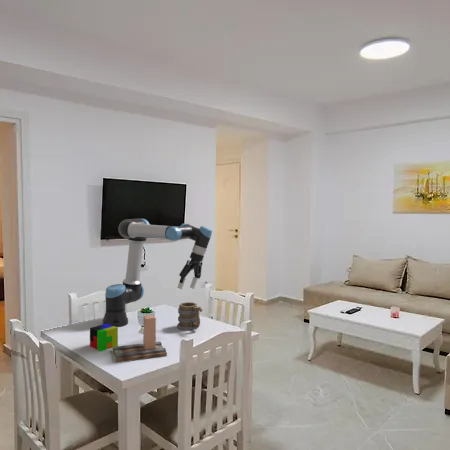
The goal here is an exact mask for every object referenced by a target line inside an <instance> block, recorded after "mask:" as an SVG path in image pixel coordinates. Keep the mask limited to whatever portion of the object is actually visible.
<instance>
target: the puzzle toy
mask: <svg viewBox="0 0 450 450" xmlns="http://www.w3.org/2000/svg"><path fill="white" fill-rule="evenodd" d="M118 328H119V327H115V326H112V325H109V324H103V323H102V324H99V325H96V326H93V327H89V347H90V348H92V349H95V350H97V351H99V352H103V351H107V350H110V349H113V347H116V346H119V343H118V342H119V339H118V338H119V337H118V335H119V334H118V333H119V329H118Z"/></svg>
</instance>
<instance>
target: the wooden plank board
mask: <svg viewBox="0 0 450 450" xmlns="http://www.w3.org/2000/svg"><path fill="white" fill-rule="evenodd" d="M162 344H163V343H162V341H156V349H150V350H145V349H144V347H143V342H142V343H135V344H128V345H127V344H125V345H118V346H116V347H113V348H112V352H113V355H114V359H115V361H116V363H123V362H122V361H124V362H131V361H138V360H139V361H140V360H146V359H151V358H152V359H153V358H154V357H155V358H160V357H161V356H162V357H168V355H167V354H168V353H167V348H166V347H163V345H162ZM130 360H131V361H130Z"/></svg>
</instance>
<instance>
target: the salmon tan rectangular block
mask: <svg viewBox="0 0 450 450" xmlns="http://www.w3.org/2000/svg"><path fill="white" fill-rule="evenodd" d="M156 319H157V318H156V316H155V315H154V314H149V315H143V342H142V343H143V347H144V349H145V350H150V349H156V342H157V341H156V336H157V335H156V334H157V333H156V331H157V330H156V328H157V327H156V325H157V324H156V323H157V320H156Z"/></svg>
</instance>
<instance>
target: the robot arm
mask: <svg viewBox="0 0 450 450" xmlns="http://www.w3.org/2000/svg"><path fill="white" fill-rule="evenodd" d="M117 230H118V233H119V235H120V236H121V237H123V238H124V239H127V241H128V242H129V245H128V253H127V262H126V263H127V264H126V273H125V278H124V279H123V280H122V283H116V284H111V285H108V286H107V287H106V289H105V295H104V296H105V312H104V313H105V314H104V316H103V320H102V325H103V324H109V325H112V326H115V327H118V328H119V327H123V326H126V325H128V324H129V318H128V315H127V311H126V305H127V304H131V303H135V302H138V301H139V300H141V299H142V298H143V296H144V293H145V289H144V285H143V284H142V281H141V280H140V276H141V268H142V267H141V266H142V259H143V258H142V257H143V250H144V249H143V248H144V244H145V243H146V242H147V239H148V238H150V239H161V240H162V239H163V240H169V241H179V240H187V239H189V240H192V241H194V244H193V246H192V249H191V250H192V251H191V252H190V255H189V258H190V260H189V259H187V261H186V263H185V265H184V266H183V268H182V269H181V271H180V272H179V275H178V276H179V277H180V278H179V280H178V281H179V282H178V284H177V288H178V289H179V290H183V288H184V284H185V281H186V279H187V278H186V277H187V275H189V274H190V272H191V271H193V275H194V276H192V280H191V283H190V286H189V288H191V289H193V290H194V289H195V287H196V285H197V282H198V280H200V278H201V276H202V269H203V268H202V266H203V260H204V257H205V256H204V255H205V254H206V252H207V248H208V246H209V243H210V240H211V238H212V234H213V230H212V229H211V228H210V227H209V228H208V227H206V226H202V225H201V226H200V227H196V226H193V225H191V224H189V223H182V224H181V225H179V226H175V225H158V224H150V223H149V221H148V220H147V219H145V218H129V219H123V220H122V221H121V222H120V223H119V225H118V229H117Z"/></svg>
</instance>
